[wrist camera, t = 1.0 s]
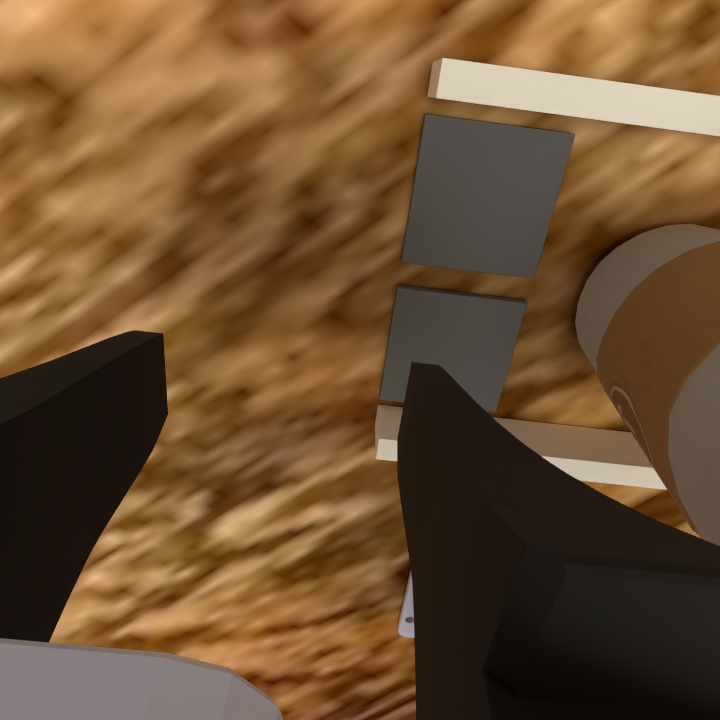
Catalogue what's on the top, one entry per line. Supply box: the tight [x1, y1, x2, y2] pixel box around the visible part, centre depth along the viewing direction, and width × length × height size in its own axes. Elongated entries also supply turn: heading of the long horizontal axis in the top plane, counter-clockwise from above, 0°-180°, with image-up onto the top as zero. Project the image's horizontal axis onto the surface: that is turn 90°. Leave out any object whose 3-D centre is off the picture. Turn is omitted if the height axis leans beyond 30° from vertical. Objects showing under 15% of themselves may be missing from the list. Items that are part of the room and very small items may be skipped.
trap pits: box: [380, 114, 575, 412], centre depth 20 cm, size 11×5×1 cm, turn 173°
